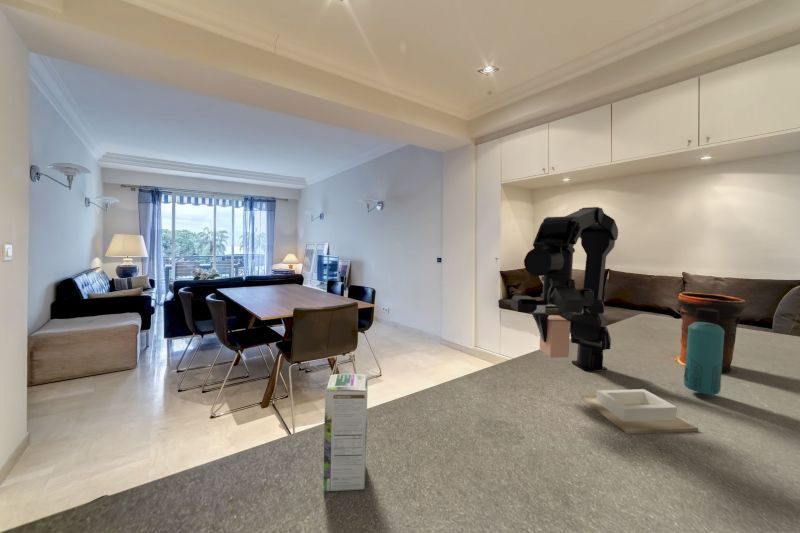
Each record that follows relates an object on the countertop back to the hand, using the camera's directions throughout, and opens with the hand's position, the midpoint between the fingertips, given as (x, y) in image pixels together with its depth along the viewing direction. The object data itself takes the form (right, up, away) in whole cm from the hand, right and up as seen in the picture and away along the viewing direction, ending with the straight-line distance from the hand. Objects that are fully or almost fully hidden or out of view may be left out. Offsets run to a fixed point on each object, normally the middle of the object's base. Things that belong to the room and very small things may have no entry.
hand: (554, 341), depth 79 cm
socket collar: (+13, -13, -8) cm, 20 cm away
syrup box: (-43, -14, -28) cm, 53 cm away
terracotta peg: (0, -3, 0) cm, 3 cm away
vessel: (+52, -11, +21) cm, 57 cm away
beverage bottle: (+34, -13, +1) cm, 36 cm away
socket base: (+13, -13, -8) cm, 20 cm away
